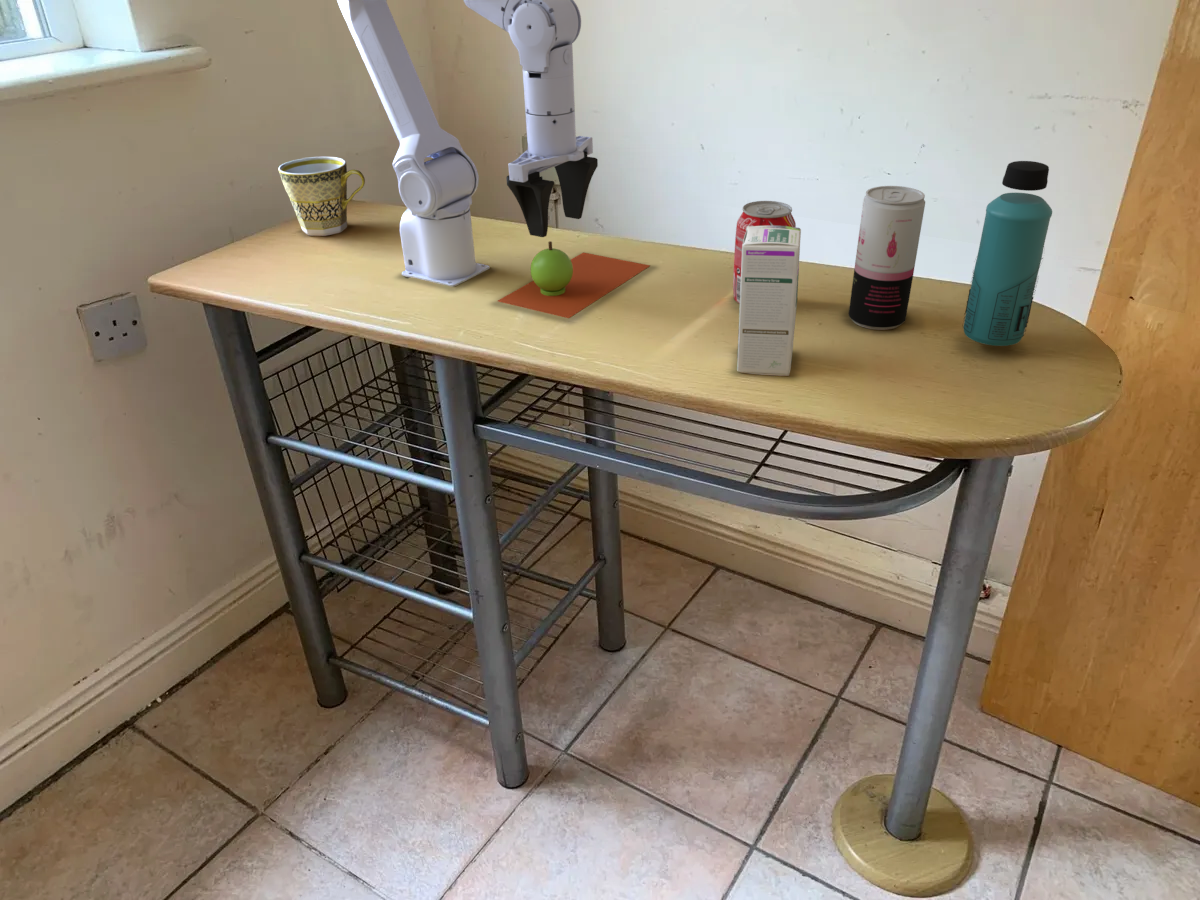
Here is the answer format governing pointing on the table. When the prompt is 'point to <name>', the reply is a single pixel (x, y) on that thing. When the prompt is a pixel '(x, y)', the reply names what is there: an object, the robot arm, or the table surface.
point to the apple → (551, 271)
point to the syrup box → (768, 299)
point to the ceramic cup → (319, 193)
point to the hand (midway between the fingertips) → (556, 226)
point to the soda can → (757, 216)
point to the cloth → (578, 285)
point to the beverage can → (886, 256)
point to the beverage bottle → (1009, 258)
